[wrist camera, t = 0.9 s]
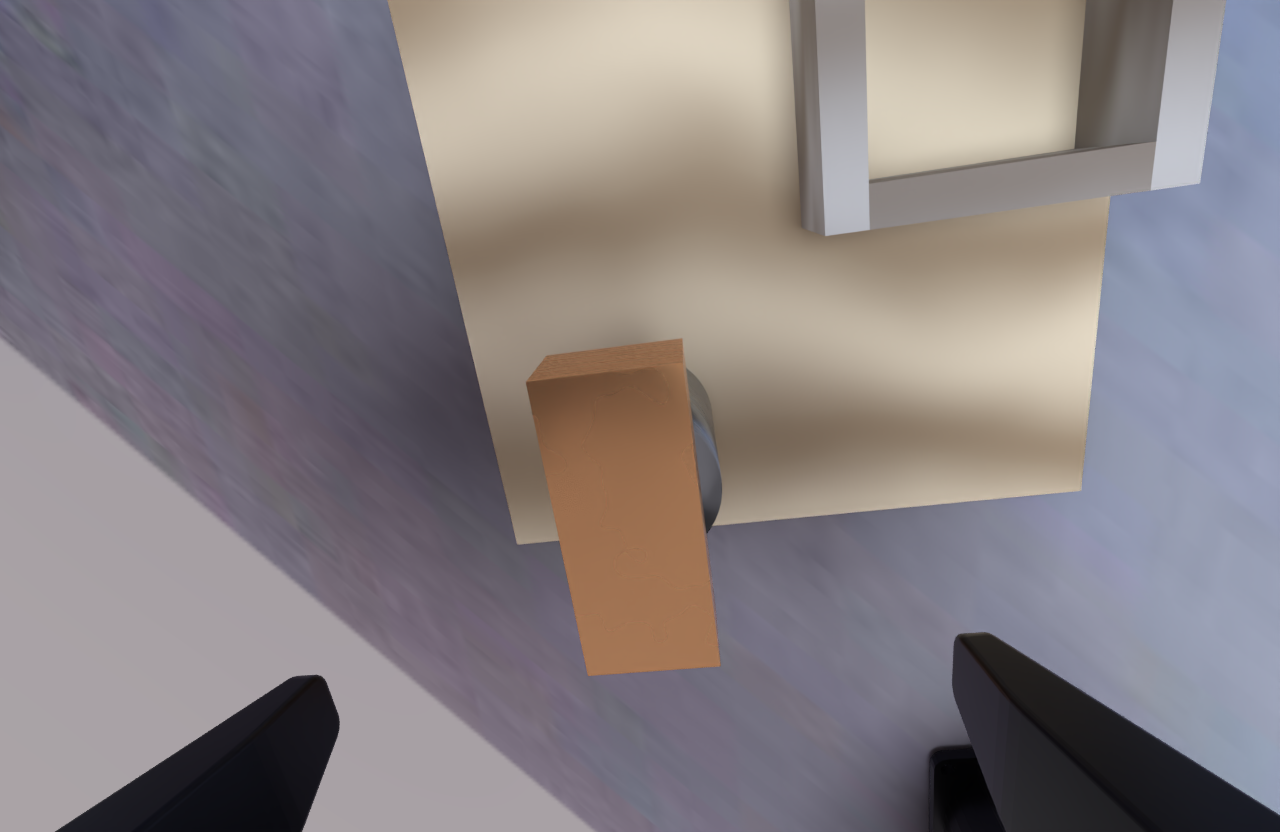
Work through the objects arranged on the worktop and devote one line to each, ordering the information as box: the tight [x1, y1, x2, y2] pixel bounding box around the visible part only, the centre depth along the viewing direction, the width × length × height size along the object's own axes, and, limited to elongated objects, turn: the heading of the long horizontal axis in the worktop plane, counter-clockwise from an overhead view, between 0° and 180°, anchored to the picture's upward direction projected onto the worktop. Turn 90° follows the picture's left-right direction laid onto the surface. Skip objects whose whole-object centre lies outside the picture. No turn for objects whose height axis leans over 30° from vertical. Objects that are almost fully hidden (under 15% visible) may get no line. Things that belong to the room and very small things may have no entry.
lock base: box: [388, 0, 1226, 545], centre depth 16 cm, size 18×18×4 cm
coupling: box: [526, 338, 722, 676], centre depth 16 cm, size 7×4×7 cm, turn 8°
